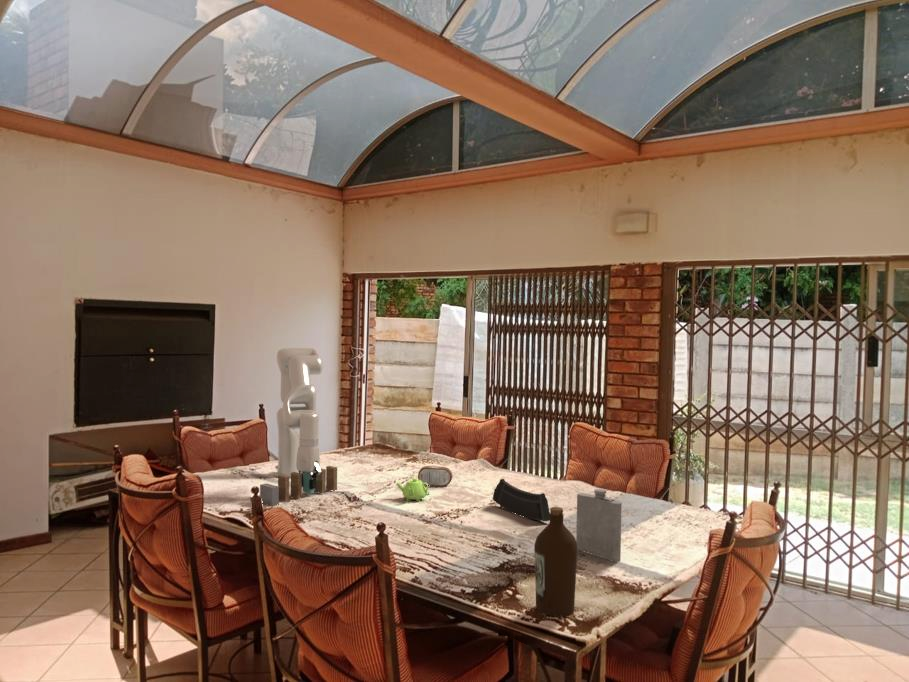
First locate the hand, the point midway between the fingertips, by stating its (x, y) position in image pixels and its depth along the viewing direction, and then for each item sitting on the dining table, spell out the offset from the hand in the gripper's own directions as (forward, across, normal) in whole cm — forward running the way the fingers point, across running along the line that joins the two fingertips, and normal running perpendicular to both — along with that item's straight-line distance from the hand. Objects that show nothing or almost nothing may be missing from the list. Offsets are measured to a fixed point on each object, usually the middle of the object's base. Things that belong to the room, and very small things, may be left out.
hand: (308, 487), depth 284 cm
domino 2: (+3, 0, -6) cm, 7 cm away
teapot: (+4, +35, +25) cm, 43 cm away
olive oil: (+4, +137, -29) cm, 140 cm away
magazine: (+4, +79, +37) cm, 88 cm away
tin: (+4, +25, +49) cm, 55 cm away
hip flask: (+4, +124, +16) cm, 125 cm away
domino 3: (+2, 0, 0) cm, 2 cm away
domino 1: (+3, 0, -12) cm, 12 cm away
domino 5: (+3, 0, +12) cm, 12 cm away
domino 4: (+3, 0, +6) cm, 7 cm away
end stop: (+3, 0, -19) cm, 19 cm away
